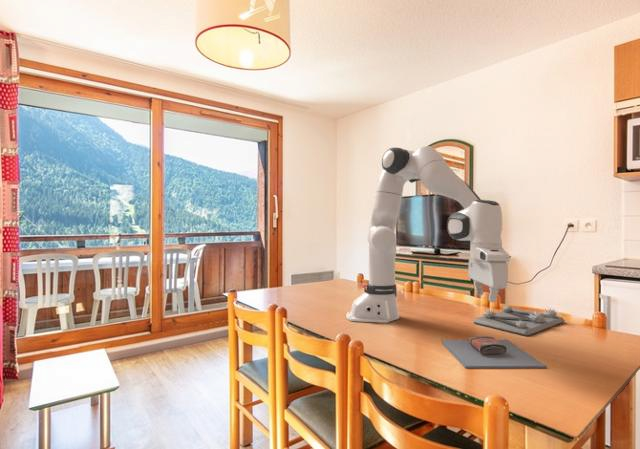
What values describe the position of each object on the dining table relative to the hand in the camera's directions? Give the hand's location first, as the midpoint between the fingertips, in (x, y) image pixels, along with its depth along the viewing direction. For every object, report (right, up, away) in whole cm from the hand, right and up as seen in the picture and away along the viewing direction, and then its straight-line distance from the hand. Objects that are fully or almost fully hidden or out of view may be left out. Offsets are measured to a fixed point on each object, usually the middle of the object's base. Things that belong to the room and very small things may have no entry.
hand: (485, 298), depth 109 cm
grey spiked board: (+28, -17, +32) cm, 46 cm away
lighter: (+1, -15, -3) cm, 15 cm away
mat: (+1, -17, 0) cm, 17 cm away
